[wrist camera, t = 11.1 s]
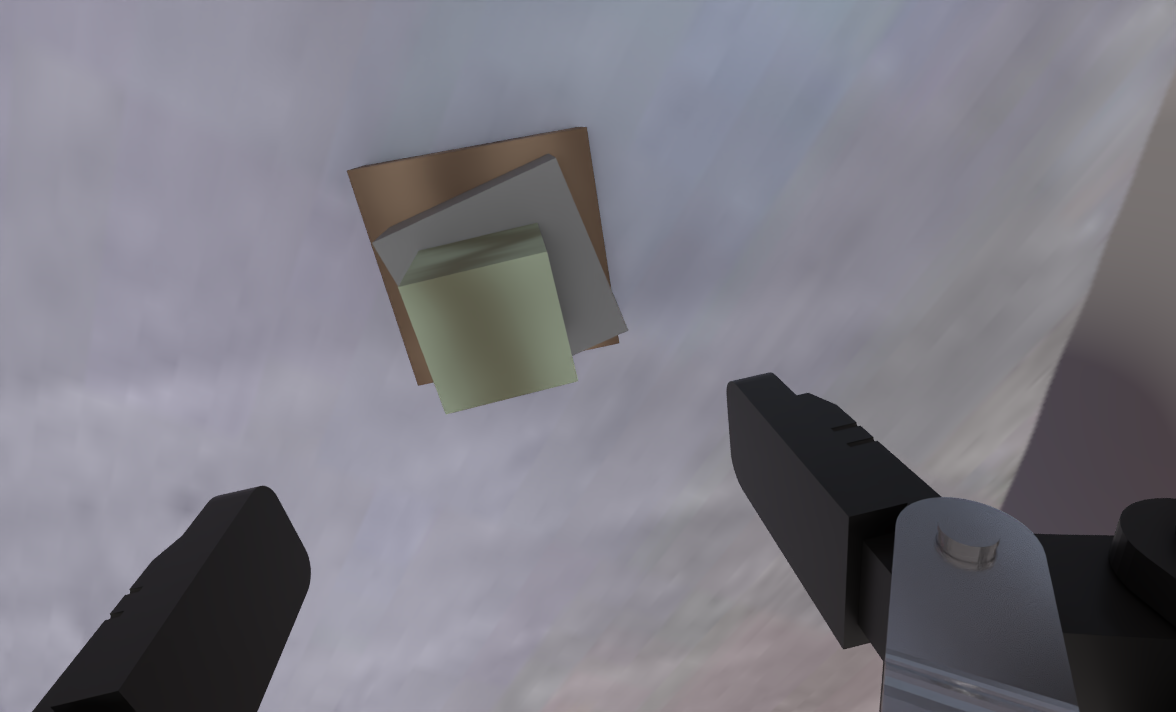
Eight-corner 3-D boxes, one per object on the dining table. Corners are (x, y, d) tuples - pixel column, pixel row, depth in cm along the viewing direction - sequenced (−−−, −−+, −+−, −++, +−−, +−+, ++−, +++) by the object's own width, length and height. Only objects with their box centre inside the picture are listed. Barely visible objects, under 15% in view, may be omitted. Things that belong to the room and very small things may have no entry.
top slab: (548, 153, 27) (555, 157, 24) (613, 306, 31) (628, 330, 27) (388, 227, 28) (371, 243, 24) (472, 370, 31) (468, 402, 28)
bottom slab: (576, 126, 31) (586, 127, 27) (607, 321, 36) (619, 343, 32) (365, 165, 30) (346, 170, 26) (426, 358, 35) (418, 385, 31)
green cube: (537, 222, 25) (547, 251, 20) (563, 331, 27) (577, 381, 22) (418, 250, 24) (398, 287, 19) (455, 357, 27) (445, 414, 22)
